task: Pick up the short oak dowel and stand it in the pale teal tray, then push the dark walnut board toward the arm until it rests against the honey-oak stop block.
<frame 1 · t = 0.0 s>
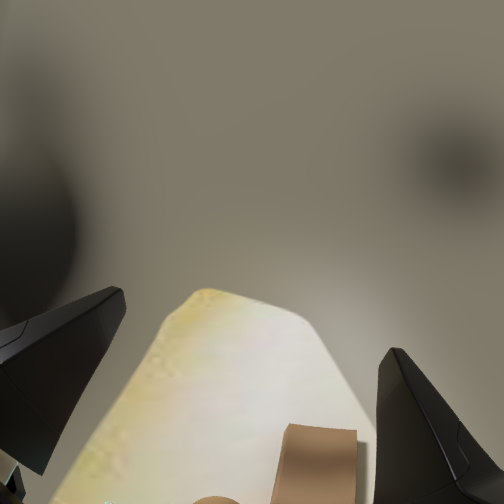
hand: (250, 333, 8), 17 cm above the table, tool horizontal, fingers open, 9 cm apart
walnut board: (311, 476, 16), on the table
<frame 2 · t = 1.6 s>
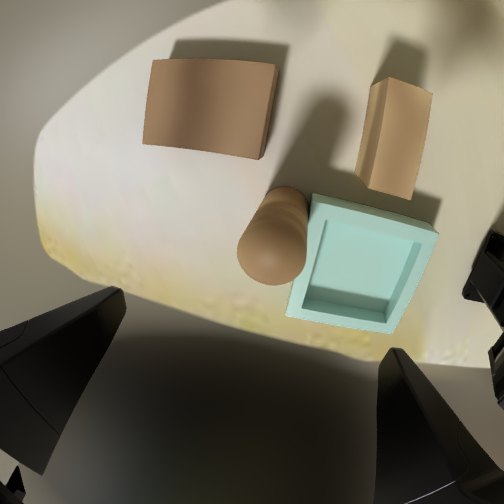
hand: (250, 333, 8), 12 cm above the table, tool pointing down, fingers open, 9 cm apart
oak dowel: (285, 208, 18), on the table
tray: (357, 264, 19), on the table
walnut board: (214, 105, 16), on the table
stop block: (381, 134, 15), on the table
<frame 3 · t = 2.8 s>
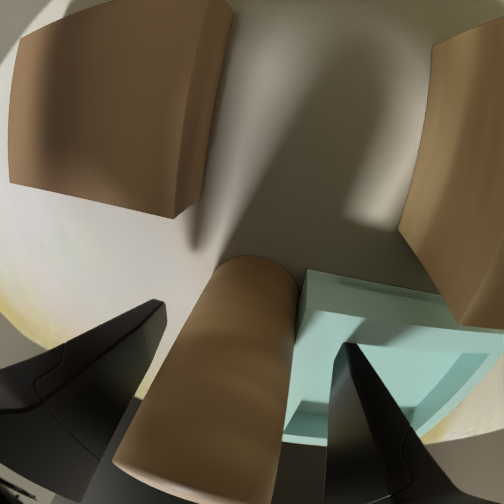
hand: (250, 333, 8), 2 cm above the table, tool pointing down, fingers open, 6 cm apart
oak dowel: (253, 295, 10), on the table
tray: (377, 370, 10), on the table
walnut board: (114, 97, 7), on the table
stop block: (454, 149, 6), on the table
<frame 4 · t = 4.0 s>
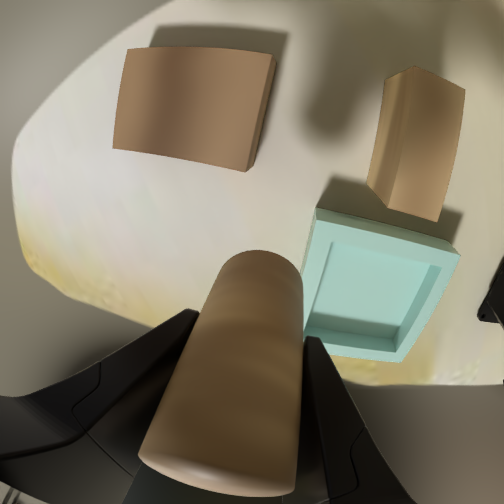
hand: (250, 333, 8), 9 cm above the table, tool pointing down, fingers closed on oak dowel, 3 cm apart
oak dowel: (259, 288, 10), point 6 cm above the table, touching gripper
tray: (366, 288, 16), on the table
walnut board: (197, 102, 14), on the table
stop block: (398, 137, 12), on the table
when the fingers open (4 cm above the table, at t = 6.3 s): oak dowel drops 1 cm, resting on tray.
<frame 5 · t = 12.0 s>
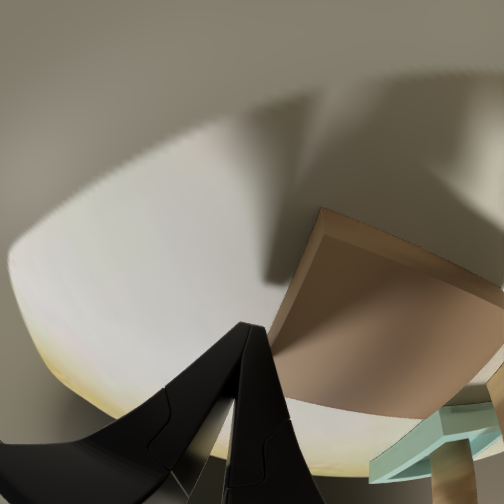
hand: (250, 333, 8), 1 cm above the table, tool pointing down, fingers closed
oak dowel: (448, 442, 11), point 1 cm above the table, touching tray
tray: (446, 436, 12), on the table
walnut board: (387, 316, 9), on the table
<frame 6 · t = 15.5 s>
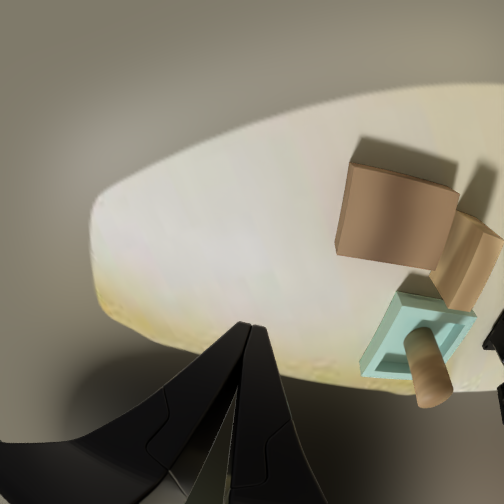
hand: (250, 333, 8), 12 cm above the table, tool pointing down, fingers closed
oak dowel: (418, 339, 21), point 1 cm above the table, touching tray
tray: (415, 335, 22), on the table
walnut board: (392, 211, 18), on the table
stop block: (453, 247, 17), on the table
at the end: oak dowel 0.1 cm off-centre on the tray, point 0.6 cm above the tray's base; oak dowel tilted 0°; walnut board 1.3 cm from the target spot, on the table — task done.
